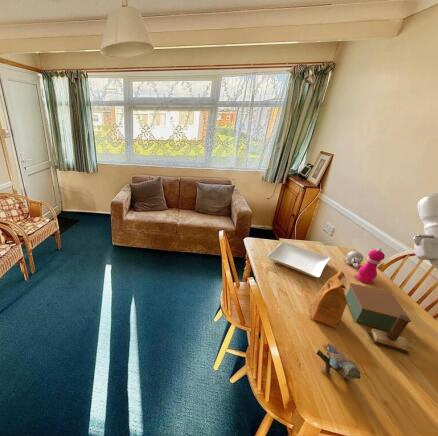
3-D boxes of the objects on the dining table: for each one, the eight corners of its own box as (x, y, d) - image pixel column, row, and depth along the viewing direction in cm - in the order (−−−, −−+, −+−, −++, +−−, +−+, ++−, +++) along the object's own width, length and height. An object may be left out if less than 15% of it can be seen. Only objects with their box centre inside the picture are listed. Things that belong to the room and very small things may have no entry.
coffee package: (338, 312, 103) (357, 274, 94) (336, 331, 95) (357, 290, 85) (312, 302, 109) (327, 264, 100) (308, 318, 100) (324, 279, 91)
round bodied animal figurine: (345, 269, 131) (350, 257, 128) (343, 259, 140) (348, 247, 137) (361, 273, 128) (367, 261, 124) (358, 263, 137) (364, 251, 133)
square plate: (329, 261, 138) (331, 256, 136) (317, 283, 121) (319, 277, 119) (281, 244, 156) (282, 239, 154) (265, 261, 139) (266, 255, 137)
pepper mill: (371, 278, 124) (387, 247, 116) (374, 286, 119) (392, 254, 110) (354, 273, 128) (368, 243, 119) (356, 281, 122) (372, 249, 114)
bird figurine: (311, 337, 91) (331, 327, 75) (342, 349, 87) (369, 341, 71) (308, 374, 85) (329, 371, 69) (341, 388, 81) (370, 389, 65)
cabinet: (384, 306, 107) (392, 292, 103) (403, 336, 92) (413, 321, 89) (343, 295, 113) (349, 282, 109) (354, 322, 98) (362, 308, 95)
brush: (401, 343, 90) (419, 317, 84) (408, 354, 85) (427, 328, 80) (369, 333, 94) (384, 308, 88) (373, 343, 90) (389, 318, 84)
